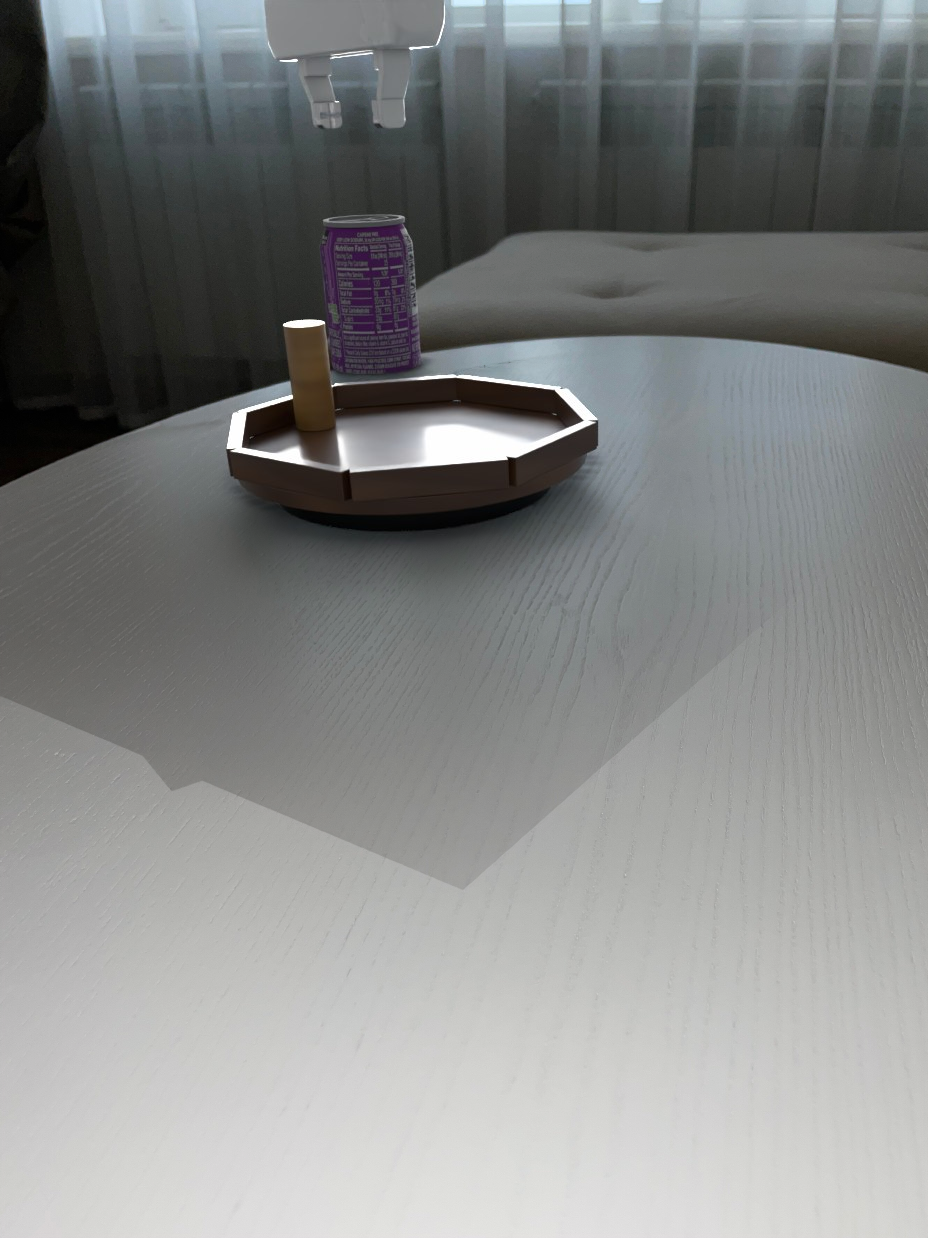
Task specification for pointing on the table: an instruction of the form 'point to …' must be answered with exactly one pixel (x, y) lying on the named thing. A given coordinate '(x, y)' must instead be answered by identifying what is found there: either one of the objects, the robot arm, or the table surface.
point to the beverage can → (370, 294)
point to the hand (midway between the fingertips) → (357, 128)
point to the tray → (403, 439)
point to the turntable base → (416, 517)
